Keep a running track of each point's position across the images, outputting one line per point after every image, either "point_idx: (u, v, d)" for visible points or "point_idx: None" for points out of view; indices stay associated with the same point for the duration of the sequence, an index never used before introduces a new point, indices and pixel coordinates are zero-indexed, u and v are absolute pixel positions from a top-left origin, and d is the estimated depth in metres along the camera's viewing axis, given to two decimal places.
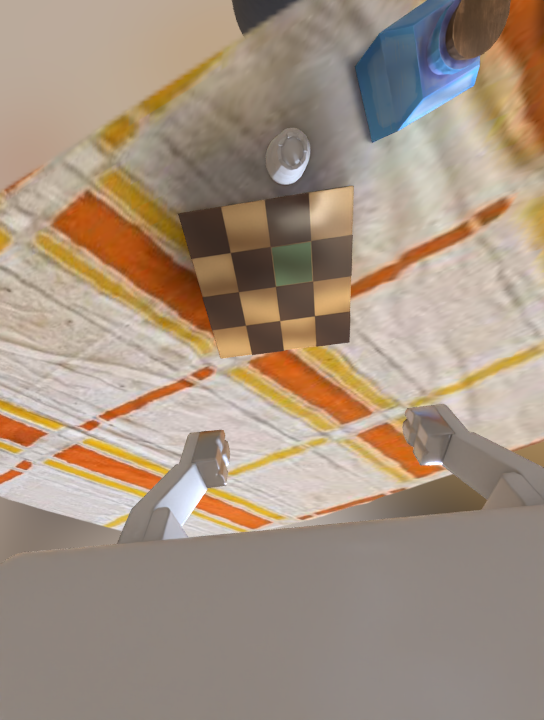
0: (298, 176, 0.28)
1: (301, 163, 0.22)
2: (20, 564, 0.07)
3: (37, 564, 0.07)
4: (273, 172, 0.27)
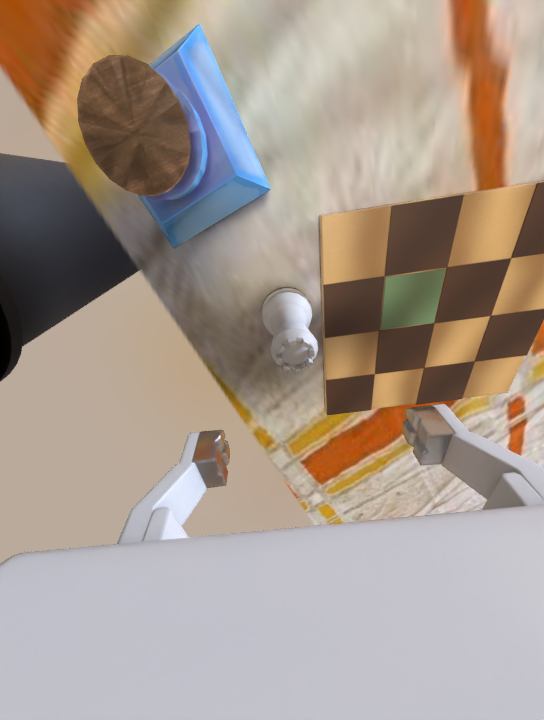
0: (305, 304, 0.21)
1: None
2: (20, 564, 0.07)
3: (37, 564, 0.07)
4: None
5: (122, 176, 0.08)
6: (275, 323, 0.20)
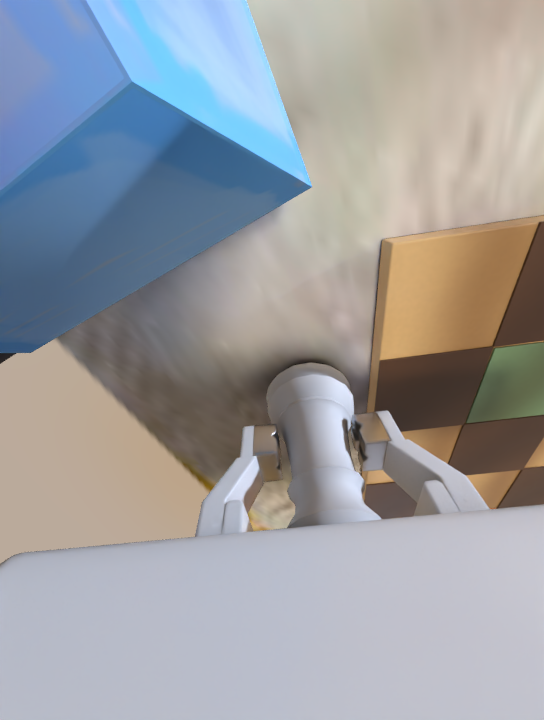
0: (346, 397, 0.12)
1: None
2: (20, 564, 0.07)
3: (37, 564, 0.07)
4: None
5: None
6: (291, 445, 0.11)
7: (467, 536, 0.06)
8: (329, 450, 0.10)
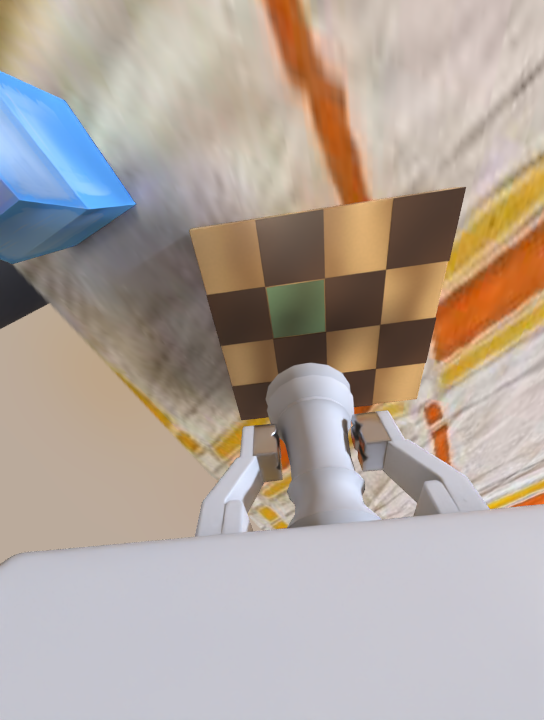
0: (346, 397, 0.12)
1: None
2: (20, 564, 0.07)
3: (37, 564, 0.07)
4: None
5: None
6: (291, 445, 0.11)
7: (467, 536, 0.06)
8: (329, 450, 0.10)
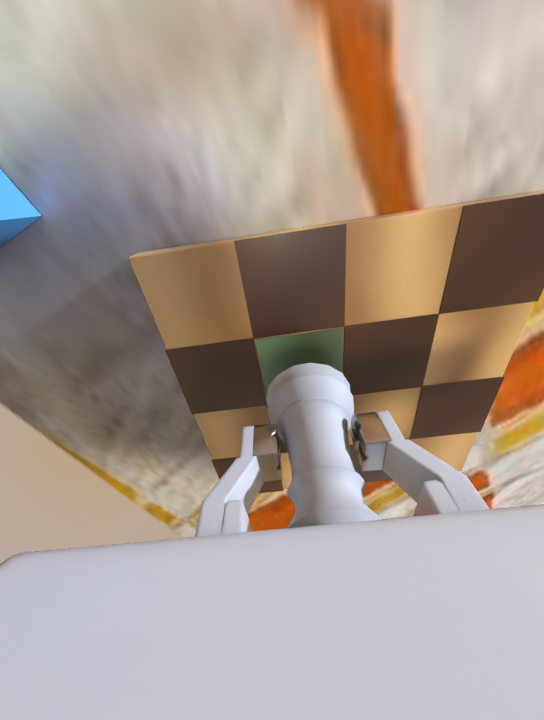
0: (346, 397, 0.12)
1: None
2: (20, 564, 0.07)
3: (37, 564, 0.07)
4: None
5: None
6: (291, 445, 0.11)
7: (467, 536, 0.06)
8: (329, 450, 0.10)
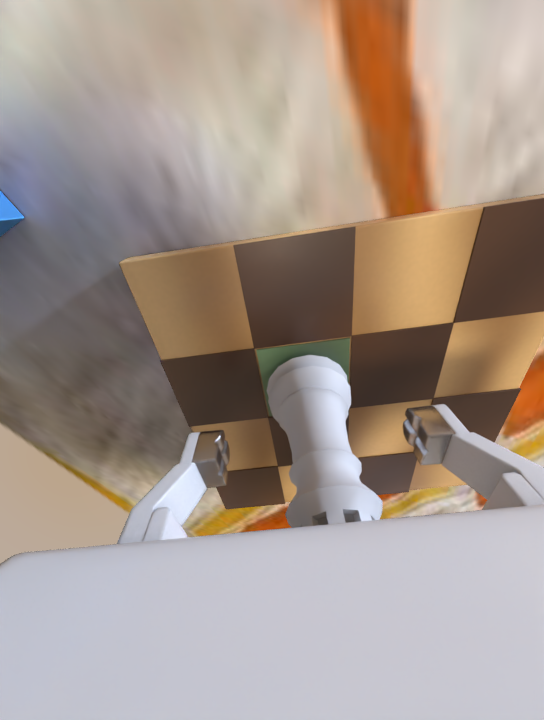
0: (343, 387, 0.12)
1: None
2: (20, 564, 0.07)
3: (37, 564, 0.07)
4: None
5: None
6: (291, 431, 0.11)
7: (467, 536, 0.06)
8: (328, 435, 0.10)
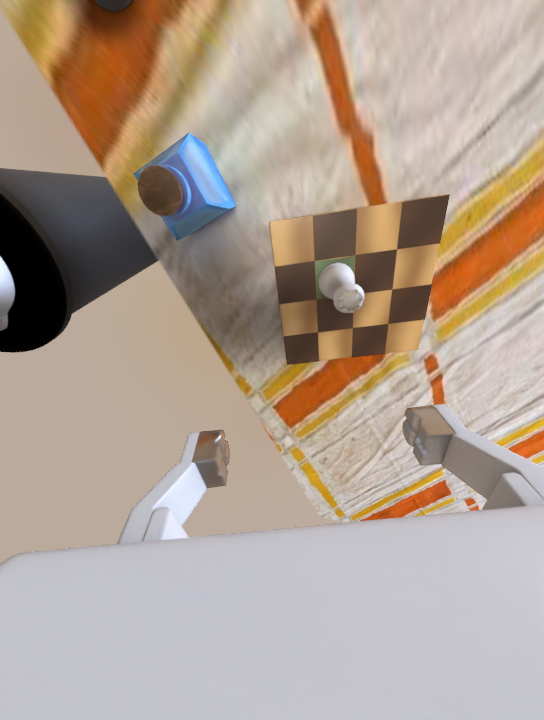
0: (351, 273, 0.31)
1: (359, 293, 0.27)
2: (20, 564, 0.07)
3: (37, 564, 0.07)
4: None
5: (153, 208, 0.20)
6: (332, 285, 0.30)
7: (467, 536, 0.06)
8: (346, 281, 0.29)
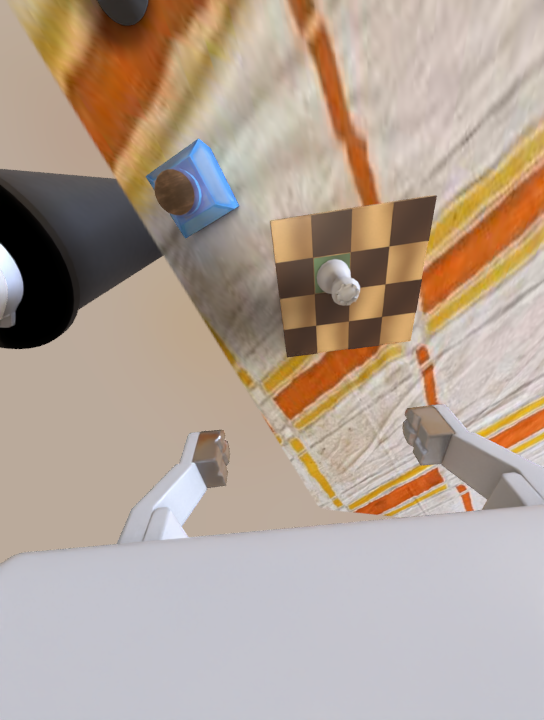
0: (348, 269, 0.34)
1: None
2: (20, 564, 0.07)
3: (37, 564, 0.07)
4: None
5: (168, 208, 0.22)
6: (330, 279, 0.32)
7: (467, 536, 0.06)
8: (343, 276, 0.31)
